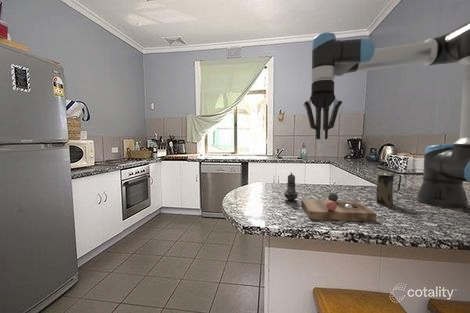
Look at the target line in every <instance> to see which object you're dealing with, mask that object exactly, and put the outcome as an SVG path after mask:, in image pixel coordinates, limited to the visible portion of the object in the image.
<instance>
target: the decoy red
mask: <svg viewBox="0 0 470 313" xmlns="http://www.w3.org/2000/svg"><path fill="white" fill-rule="evenodd" d="M326 207H327V209H328V210H330V211H334V210H336V208H337V204H336V203H335V202H334V201H328V202H327V203H326Z"/></svg>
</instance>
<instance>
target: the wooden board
mask: <svg viewBox="0 0 470 313" xmlns="http://www.w3.org/2000/svg"><path fill="white" fill-rule="evenodd" d="M300 201H301V203H300V204H301V205H300V206H301V208H302V210H303V211H304V213H305V214H306V216H307V217H308V219H309V220H320V221H321V220H326V221H327V220H329V221H350V222H351V221H354V222H377V214H378V213H376V212H375V211H373V210H372V209H370V208H369V207H367V206H365V205H364V204H362V203H361V202H359V201H357V200H337V201H335V203H336V204H337V208H336V210H334V211H330V210H328V209H327V207H326V203H327V202H328V201H330V200H329V199H328V200H326V199H324V200H323V199H301V200H300ZM346 204H350V205H352V206H353V208H347V207H344V205H346Z"/></svg>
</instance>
